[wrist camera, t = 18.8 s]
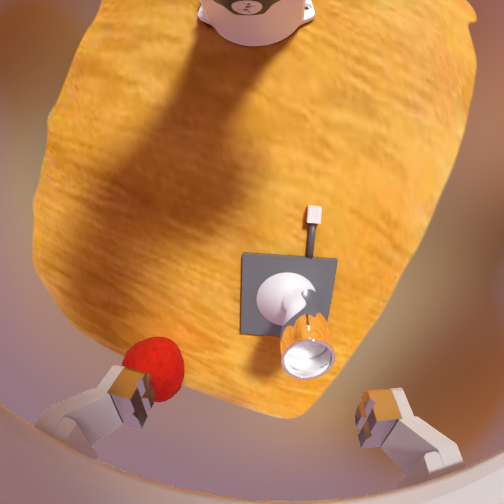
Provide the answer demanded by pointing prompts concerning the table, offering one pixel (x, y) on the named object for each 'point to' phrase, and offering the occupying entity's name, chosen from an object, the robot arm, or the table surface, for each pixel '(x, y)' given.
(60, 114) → the table surface
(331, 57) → the table surface
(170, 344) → the apple
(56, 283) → the table surface
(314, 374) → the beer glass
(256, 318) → the charging dock
